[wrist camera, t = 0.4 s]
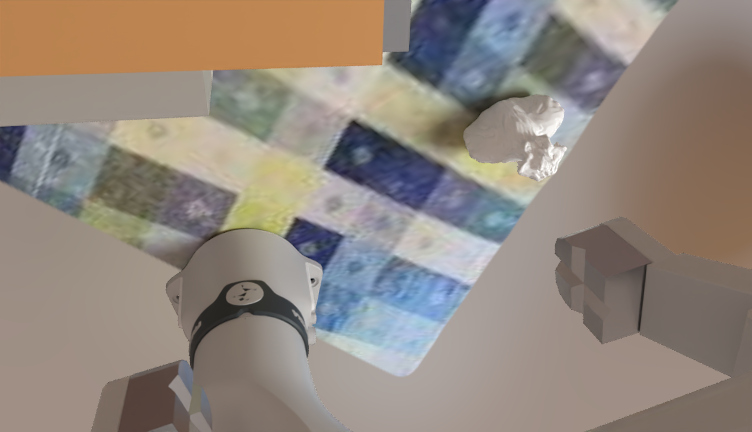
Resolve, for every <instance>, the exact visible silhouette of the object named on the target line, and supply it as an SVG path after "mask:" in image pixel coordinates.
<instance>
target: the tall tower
mask: <svg viewBox="0 0 752 432" xmlns="http://www.w3.org/2000/svg"><path fill="white" fill-rule="evenodd" d="M212 76H213V70H202V71H170V72H137V73H105V74H72V75H39V76H7V77H0V126H18V125H38V124H58V123H78V122H98V121H118V120H138V119H159V118H179V117H199V116H209V107H210V97H211V86H212Z"/></svg>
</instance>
